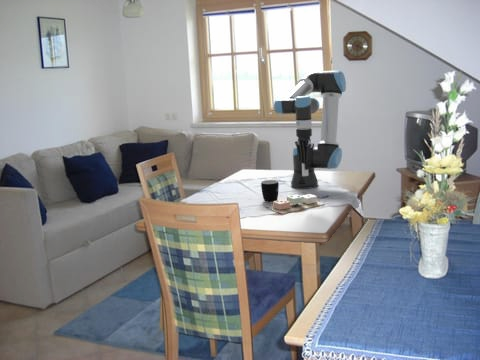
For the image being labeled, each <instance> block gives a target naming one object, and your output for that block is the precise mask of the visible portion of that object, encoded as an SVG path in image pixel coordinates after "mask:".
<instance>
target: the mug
mask: <svg viewBox="0 0 480 360" xmlns="http://www.w3.org/2000/svg"><path fill="white" fill-rule="evenodd" d="M260 186H261V187H260V188H261V195H262V198H263V200H264V202H265V203H273V201H278V198H279V187H280V186H279V181H278V180H276V179H265V180H261V182H260Z"/></svg>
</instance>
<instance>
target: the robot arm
mask: <svg viewBox="0 0 480 360" xmlns="http://www.w3.org/2000/svg"><path fill="white" fill-rule="evenodd" d="M346 89H347V82H346V77H345V75H344V72H343V71H342V70H320V71H319V70H318V71H317V70H316V71H313V72H309V73H307V74H305V75H303V76H302V77H301V78H299V80H298V81H297V83H296V85H295V86H294V87H293V88H292V89H291V91H289V92H288V93H287V94H286V95H285V97H283V98H279V99H275V100H274V103H273V110H274V113H276V114H277V115H278V114H279V115H295V129H296V130H295V131H296V132H295V133H296V137H297V141H295V142H294V144H295V147H293V151H292V162H293V163H292V164H293V174H292V178H291V180H290V186H291V188H293V189H301V190H302V189H314V188H317V187H318V185H319V184H318V183H319V181H318V178H317V176H316V173H315V169H327V170H330V169H331V170H332V169H334V170H335V169H337V168H338V167H339V166H340V164H341V162H342V157H343V151H342V148H341V147H340V145H339V143H338V141H337V137H338V136H337V135H338V134H337V133H338V118H339V117H338V116H339V102H340V101H339V100H340V98H341V97H343V93H344V92H346ZM313 93H320V97H322V112H321V113H322V114H321V129H320V141H319V142H317V145H316V146H315V143H312V142H311V137H312V136H313V129H312V127H313V126H312V115H313V114H314V113H316V112H318V110H319V108H320V101H318V99H317V98H315V97H311V96H309V95H310V94H313Z"/></svg>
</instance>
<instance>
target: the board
mask: <svg viewBox="0 0 480 360" xmlns="http://www.w3.org/2000/svg"><path fill="white" fill-rule="evenodd" d="M320 206H321V207H322V206H325V203H323V202H320V201H318V200H317V202H315V203H311V204H305V203H300V204H295V205H293V204H290V208H287V209H283V210H279V209H276V208H274V207H273V205H269V206H267V207H268V208H270V209H269V210H271V209H273V210H275V211H277V212H276V213H278V212H279V213H278V214H281V215H284V214H285V215H286V214H288V213H292V212H299V211H303V210H306V209H307V210H308V209H312V208H315V207H316V208H317V207H320ZM268 208H267V209H268ZM273 210H272V211H273ZM275 211H274V212H275Z"/></svg>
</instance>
